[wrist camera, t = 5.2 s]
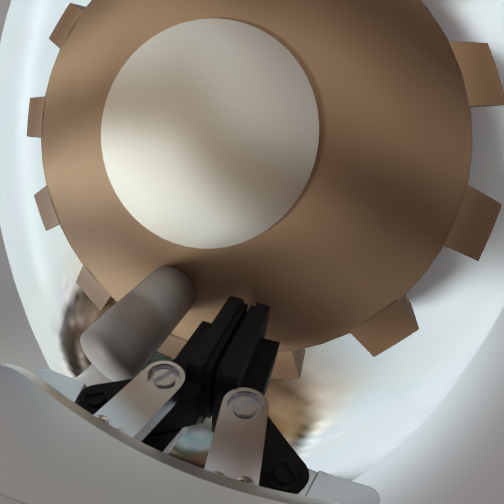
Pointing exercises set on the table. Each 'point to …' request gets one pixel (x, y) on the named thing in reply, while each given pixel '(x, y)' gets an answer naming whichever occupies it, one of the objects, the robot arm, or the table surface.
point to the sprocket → (258, 166)
